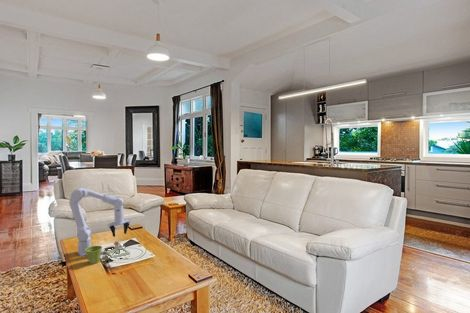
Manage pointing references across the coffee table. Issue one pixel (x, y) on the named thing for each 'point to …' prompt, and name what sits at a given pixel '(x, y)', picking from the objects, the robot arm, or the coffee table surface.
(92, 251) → the plant pot
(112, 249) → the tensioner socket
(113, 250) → the tray
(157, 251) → the coffee table surface
